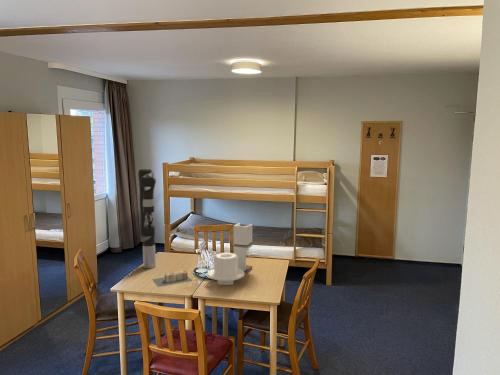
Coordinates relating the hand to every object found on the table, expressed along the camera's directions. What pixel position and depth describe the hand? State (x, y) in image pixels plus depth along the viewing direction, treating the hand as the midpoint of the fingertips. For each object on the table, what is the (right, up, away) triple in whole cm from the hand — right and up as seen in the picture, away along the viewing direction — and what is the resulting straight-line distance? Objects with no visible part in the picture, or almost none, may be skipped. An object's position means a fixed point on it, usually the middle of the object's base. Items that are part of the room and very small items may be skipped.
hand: (149, 229), depth 276 cm
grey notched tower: (+65, -33, +23) cm, 76 cm away
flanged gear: (+54, -36, -3) cm, 65 cm away
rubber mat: (+16, -35, 0) cm, 39 cm away
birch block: (+12, -33, -3) cm, 35 cm away
